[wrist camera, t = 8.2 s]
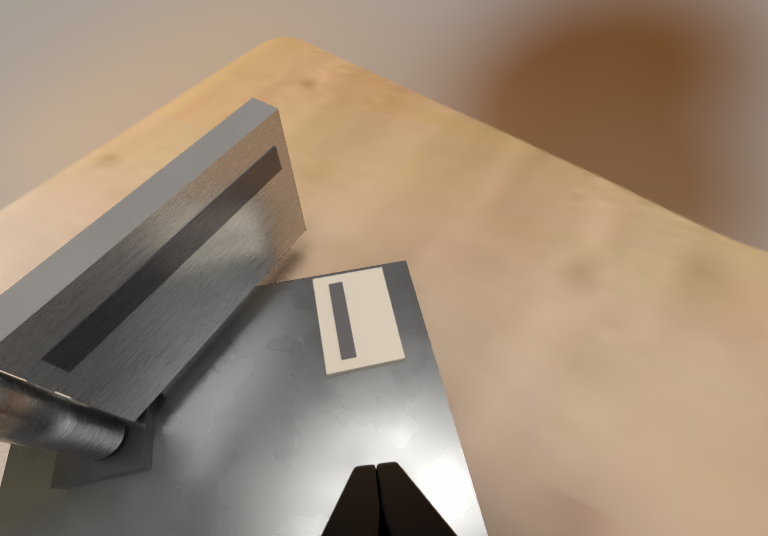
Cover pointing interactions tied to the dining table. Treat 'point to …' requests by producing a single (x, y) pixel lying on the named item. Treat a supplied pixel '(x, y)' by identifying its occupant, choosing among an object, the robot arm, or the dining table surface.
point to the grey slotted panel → (145, 287)
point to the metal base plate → (257, 435)
